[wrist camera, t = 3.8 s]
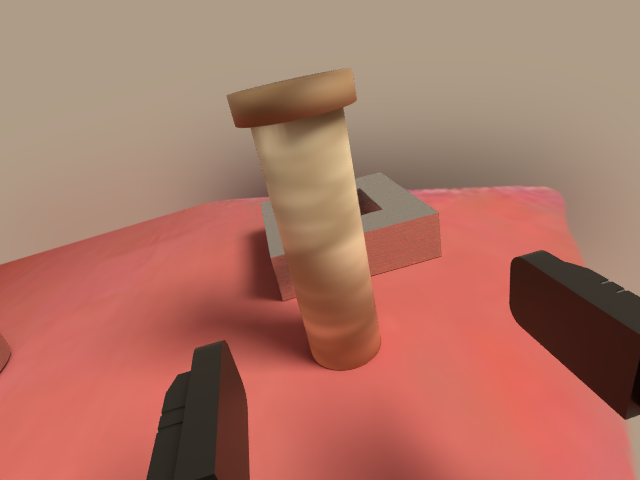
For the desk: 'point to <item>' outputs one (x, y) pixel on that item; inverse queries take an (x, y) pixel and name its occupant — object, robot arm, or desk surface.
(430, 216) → the socket block
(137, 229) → the desk surface
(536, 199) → the desk surface
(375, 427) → the desk surface
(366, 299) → the wooden pin
